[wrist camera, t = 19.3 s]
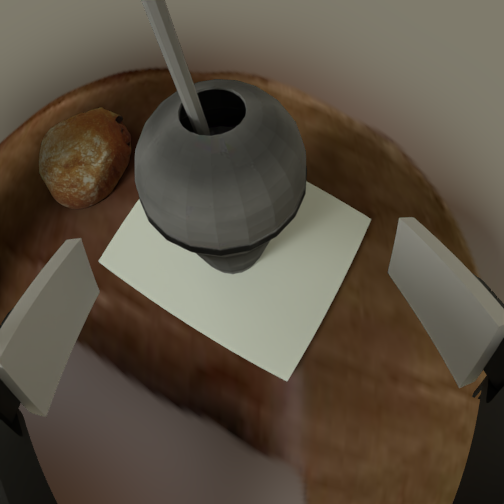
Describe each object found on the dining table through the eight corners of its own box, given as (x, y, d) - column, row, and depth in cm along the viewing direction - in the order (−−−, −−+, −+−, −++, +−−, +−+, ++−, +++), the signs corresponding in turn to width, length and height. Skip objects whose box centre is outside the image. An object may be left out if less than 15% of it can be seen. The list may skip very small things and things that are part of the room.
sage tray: (103, 263, 24) (98, 261, 23) (196, 132, 27) (195, 126, 26) (285, 379, 22) (287, 381, 21) (367, 222, 25) (371, 219, 24)
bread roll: (64, 179, 30) (12, 175, 22) (104, 102, 27) (54, 82, 20) (110, 225, 29) (53, 230, 21) (159, 138, 26) (106, 116, 18)
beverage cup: (265, 303, 22) (377, 146, 3) (173, 276, 23) (-25, 98, 3) (289, 216, 24) (372, -32, 5) (203, 193, 24) (141, -50, 5)
